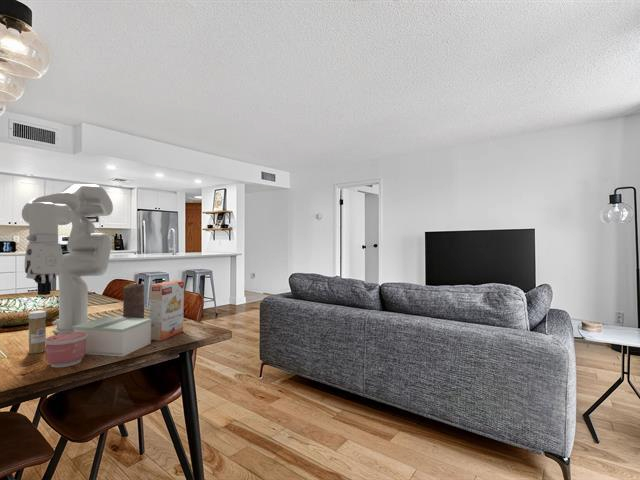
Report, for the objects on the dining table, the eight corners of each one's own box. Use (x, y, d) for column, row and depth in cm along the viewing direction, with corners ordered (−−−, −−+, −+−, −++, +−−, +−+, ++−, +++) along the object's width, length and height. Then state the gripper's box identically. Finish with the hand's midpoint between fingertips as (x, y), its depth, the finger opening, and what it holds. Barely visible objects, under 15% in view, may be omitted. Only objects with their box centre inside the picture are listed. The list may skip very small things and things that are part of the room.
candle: (140, 337, 131) (140, 285, 131) (119, 338, 130) (119, 285, 130) (146, 332, 139) (147, 283, 139) (127, 333, 138) (127, 283, 138)
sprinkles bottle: (36, 354, 112) (36, 313, 112) (24, 353, 113) (24, 312, 113) (49, 349, 117) (49, 310, 117) (38, 349, 117) (38, 309, 117)
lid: (72, 329, 113) (72, 326, 113) (106, 318, 128) (106, 316, 128) (122, 332, 110) (122, 329, 110) (151, 321, 125) (151, 318, 125)
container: (81, 354, 113) (81, 330, 113) (91, 362, 106) (91, 336, 106) (41, 363, 105) (41, 336, 105) (49, 372, 98) (49, 344, 98)
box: (73, 353, 114) (73, 329, 114) (106, 340, 128) (106, 319, 127) (122, 356, 111) (122, 331, 111) (150, 343, 125) (150, 321, 125)
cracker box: (162, 341, 127) (162, 285, 127) (147, 340, 128) (148, 284, 128) (184, 331, 141) (184, 280, 141) (171, 330, 142) (171, 280, 142)
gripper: (30, 240, 106) (30, 299, 107) (73, 239, 121) (73, 291, 121) (10, 239, 108) (10, 298, 108) (55, 239, 122) (55, 290, 123)
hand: (44, 294), depth 115 cm, fingers closed
